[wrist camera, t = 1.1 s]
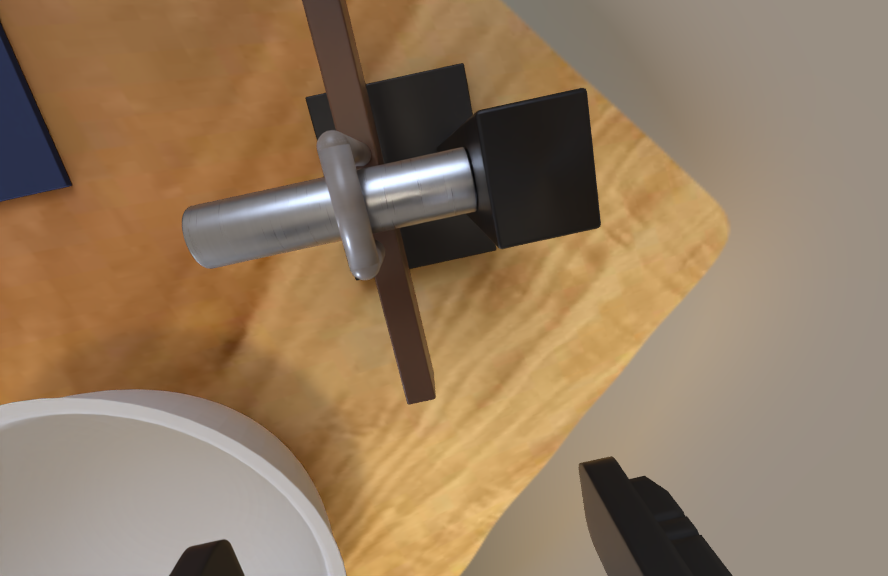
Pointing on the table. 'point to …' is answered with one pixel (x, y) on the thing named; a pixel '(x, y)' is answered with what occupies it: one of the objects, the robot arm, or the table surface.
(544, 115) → the coat stand
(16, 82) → the mat
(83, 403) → the bowl
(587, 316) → the table surface
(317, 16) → the hanger
